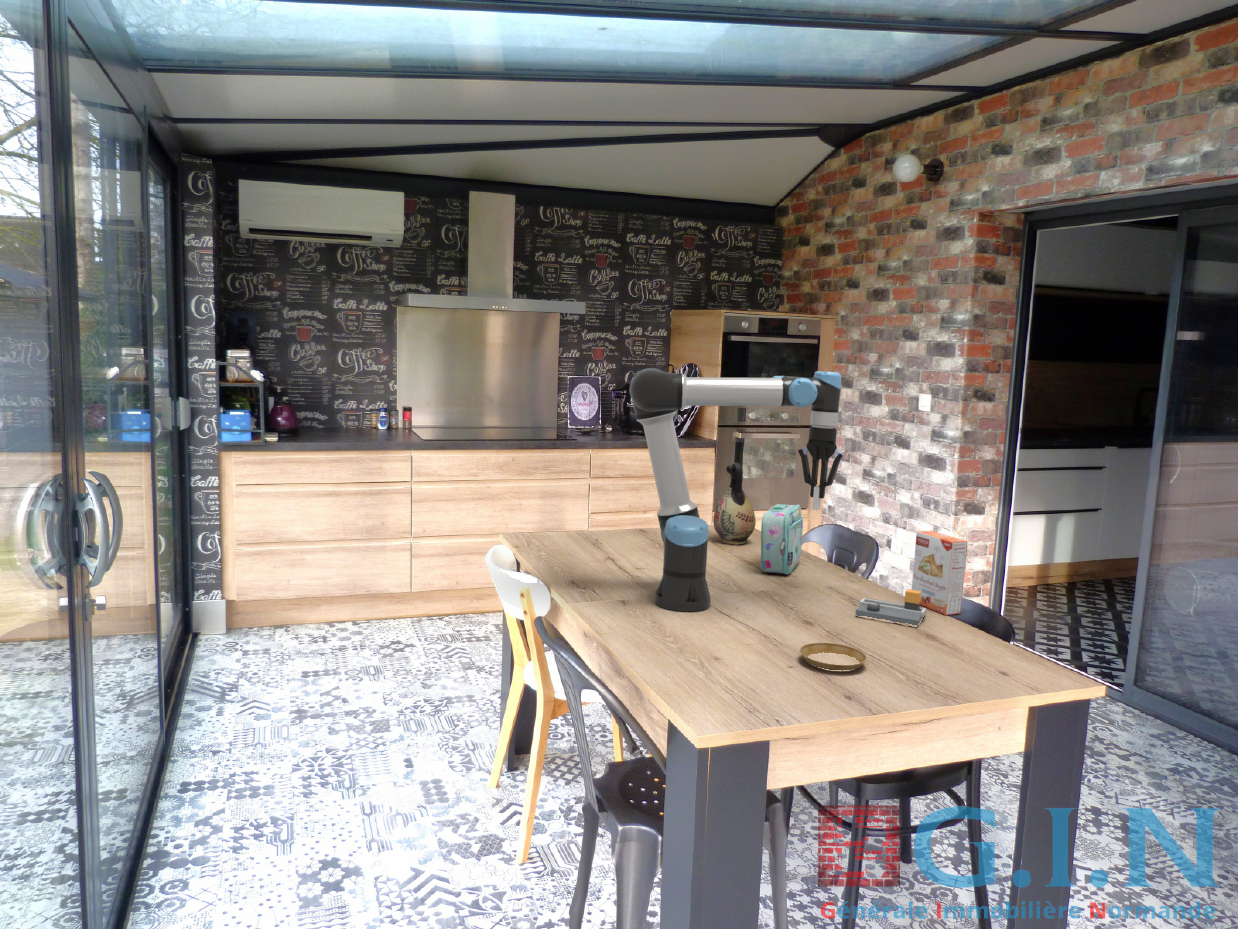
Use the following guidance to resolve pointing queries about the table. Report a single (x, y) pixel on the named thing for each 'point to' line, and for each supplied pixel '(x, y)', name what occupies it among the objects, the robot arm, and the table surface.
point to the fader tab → (912, 599)
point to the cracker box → (939, 571)
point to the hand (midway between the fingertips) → (816, 509)
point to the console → (889, 611)
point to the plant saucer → (833, 648)
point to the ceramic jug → (734, 511)
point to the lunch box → (781, 538)
